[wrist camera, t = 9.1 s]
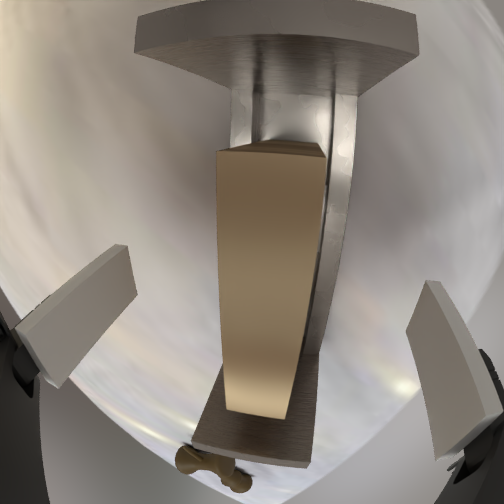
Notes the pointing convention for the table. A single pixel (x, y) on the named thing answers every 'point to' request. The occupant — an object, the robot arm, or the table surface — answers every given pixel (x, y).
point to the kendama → (213, 467)
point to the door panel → (266, 266)
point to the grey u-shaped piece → (290, 129)
